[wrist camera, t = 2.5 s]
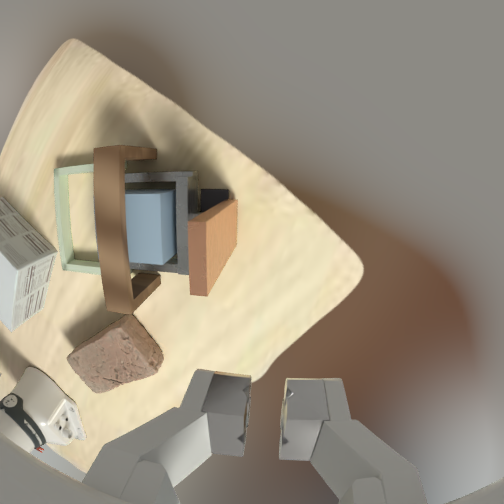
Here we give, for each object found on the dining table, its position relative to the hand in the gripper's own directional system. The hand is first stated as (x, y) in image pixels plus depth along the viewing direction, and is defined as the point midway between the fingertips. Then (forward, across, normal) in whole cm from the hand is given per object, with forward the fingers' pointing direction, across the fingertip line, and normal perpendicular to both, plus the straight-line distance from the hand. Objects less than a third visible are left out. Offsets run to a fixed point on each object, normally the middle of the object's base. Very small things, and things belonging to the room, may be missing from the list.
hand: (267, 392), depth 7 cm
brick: (+26, -23, -21) cm, 40 cm away
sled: (+25, -11, 0) cm, 27 cm away
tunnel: (+25, -16, 0) cm, 30 cm away
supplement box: (+26, -42, -6) cm, 50 cm away
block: (+25, -15, 0) cm, 29 cm away
